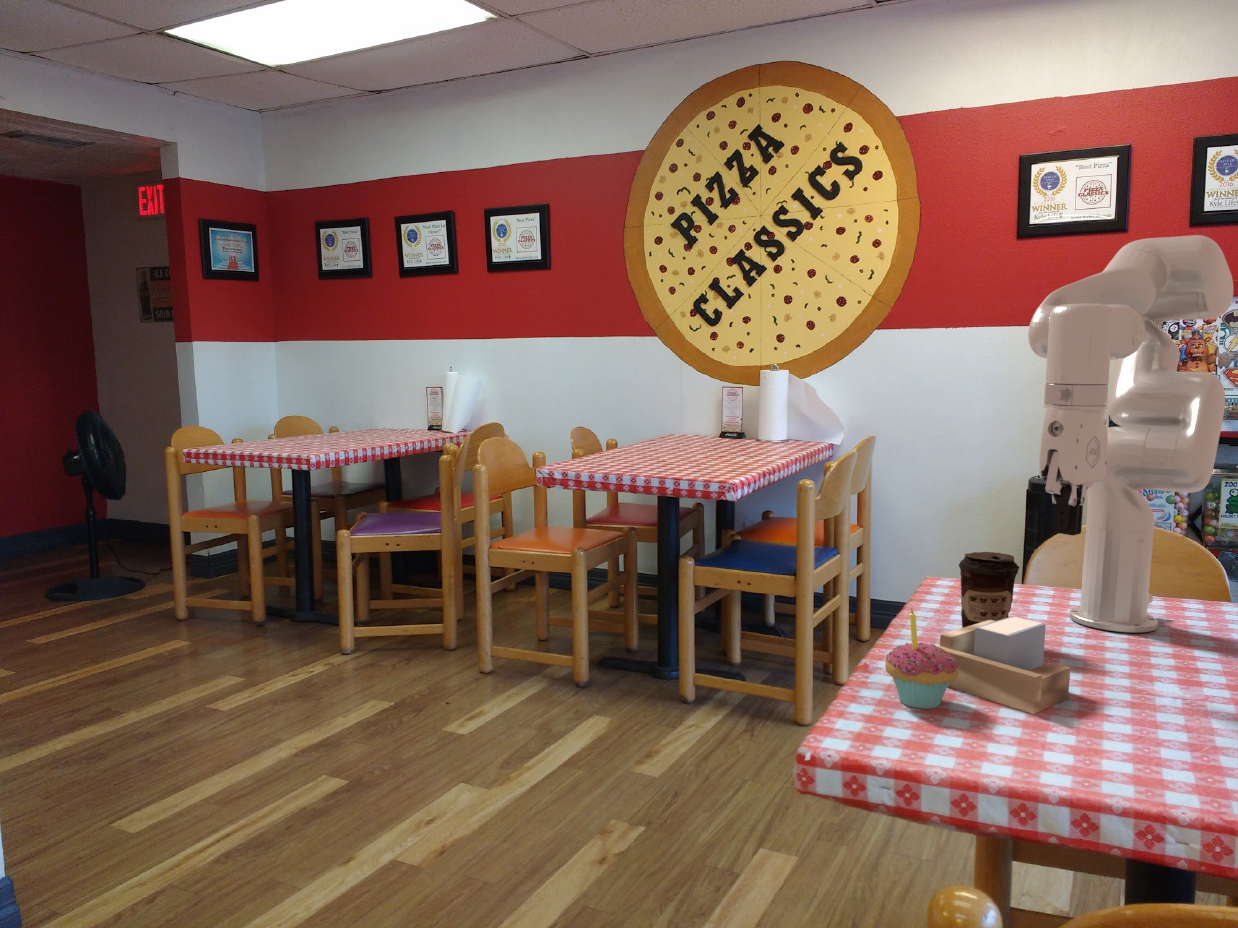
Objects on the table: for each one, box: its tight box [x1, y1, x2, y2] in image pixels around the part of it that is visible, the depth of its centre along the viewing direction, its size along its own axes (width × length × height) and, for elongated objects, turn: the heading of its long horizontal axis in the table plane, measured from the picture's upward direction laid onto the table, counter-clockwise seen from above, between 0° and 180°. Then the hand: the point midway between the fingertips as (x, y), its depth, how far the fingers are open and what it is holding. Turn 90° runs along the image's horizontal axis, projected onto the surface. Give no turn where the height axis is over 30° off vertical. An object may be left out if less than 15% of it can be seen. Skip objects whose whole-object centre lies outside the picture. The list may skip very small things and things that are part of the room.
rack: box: [937, 620, 1071, 715], centre depth 118 cm, size 14×14×6 cm
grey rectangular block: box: [974, 615, 1047, 671], centre depth 118 cm, size 9×4×8 cm, turn 128°
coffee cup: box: [958, 551, 1020, 628], centre depth 137 cm, size 9×8×13 cm
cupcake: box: [884, 607, 958, 710], centre depth 112 cm, size 9×8×12 cm
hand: (1066, 532), depth 125 cm, fingers closed
